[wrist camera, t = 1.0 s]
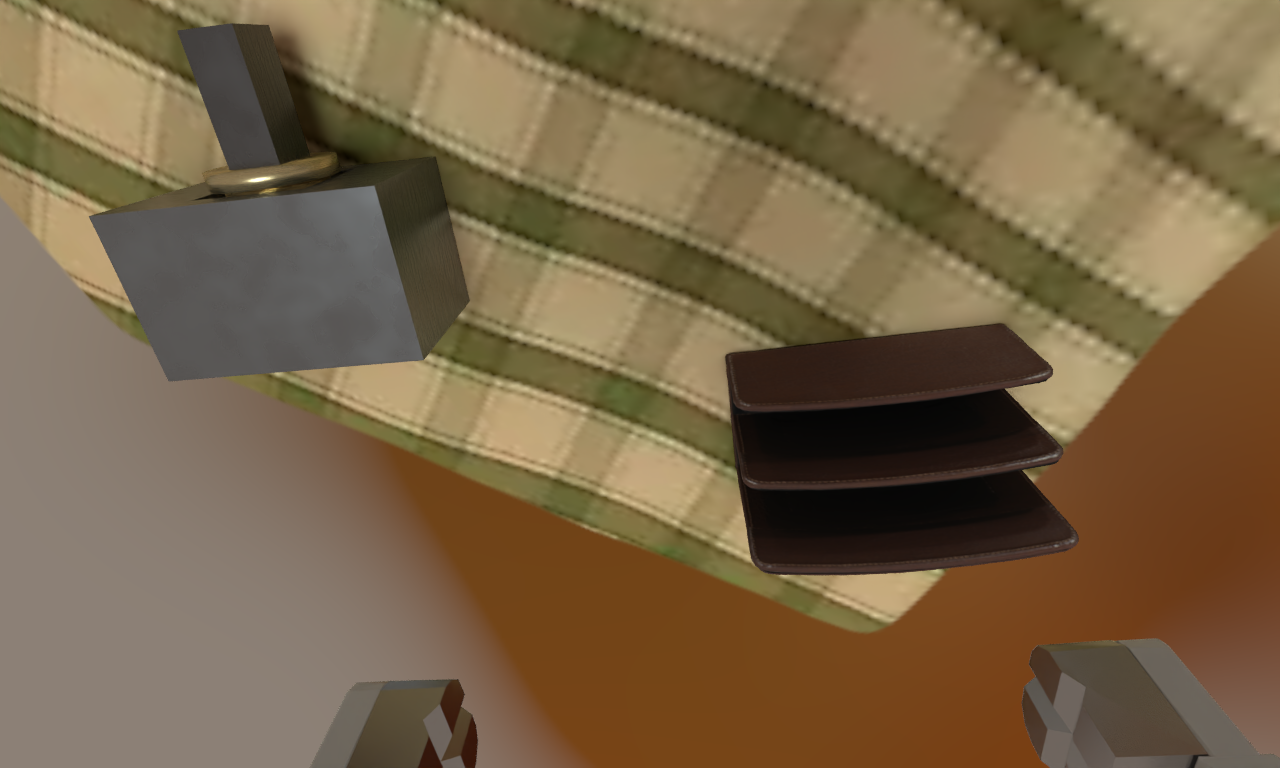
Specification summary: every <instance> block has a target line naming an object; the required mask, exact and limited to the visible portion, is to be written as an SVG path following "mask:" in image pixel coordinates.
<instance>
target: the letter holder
mask: <svg viewBox="0 0 1280 768" xmlns="http://www.w3.org/2000/svg"><path fill="white" fill-rule="evenodd" d="M725 360H726V365H727V378H728V387H729V397H730V409H731V422H732V432H733V443H734V453H735V467H736V469H737V475H738V482H739V488H740V494H741V500H742V505H743V511H744V517H745V522H746V528H747V536H748V543H749V549H750V554H751V559H752V561H753V562H754V564H755V566H757V567H758V568H759V569H760V570H761V571H763V572H765V573H768V574H776V575H861V574H862V575H866V574H887V573H904V572H915V571H925V570H936V569H945V568H954V567H962V566H973V565H981V564H988V563H996V562H1005V561H1012V560H1019V559H1025V558H1031V557H1037V556H1043V555H1047V554H1053V553H1059V552H1064V551H1067V550H1069V549H1071V548H1073V547H1074V546H1075V545H1076V544H1077V543H1078V540H1079V538H1078V534H1077V532H1076V531H1075V530H1074V528H1073V527H1072V526H1071V525H1070V524H1069V523H1068V521H1067V520H1066V519H1065V518H1064V517H1063V516H1062V515H1061V514H1060V513H1059V512H1058V511H1057V509H1056V508H1055V507H1054V506H1053V505H1052V504H1051V502H1050V501H1049V500H1048V499H1047V498H1046V497H1045V496H1044V495H1043V494H1042V493H1041V491H1040V490H1039V489H1038V488H1037V487H1036V486H1035V485H1034V484H1033V482H1032V481H1031V480H1030V479H1029V478H1028V476H1027V475H1026V474H1025V473H1024V472H1023V471H1022V470H1024V469H1029V468H1035V467H1040V466H1046V465H1052V464H1055V463H1057V462H1058V460H1059V459H1060V458H1061V457H1062V455H1063V448H1062V447H1061V446H1060V445H1059V444H1058V442H1057V441H1056V440H1055V439H1054V438H1053V437H1052V436H1051V435H1050V434H1049V433H1048V432H1047V431H1046V430H1045V429H1044V428H1043V427H1042V426H1041V425H1040V424H1039V423H1038V422H1037V421H1035V420H1034V419H1033V418H1032V417H1031V416H1030V415H1029V414H1028V413H1027V412H1026V411H1025V409H1024V408H1023V407H1022V406H1021V405H1020V404H1019V403H1018V402H1017V401H1016V400H1015V399H1014V398H1013V397H1012V396H1011V395H1010V394H1009V393H1008V392H1007V391H1006V390H1005V388H1012V387H1017V386H1023V385H1029V384H1034V383H1041V382H1044V381H1046V380H1047V379H1048V378H1050V377H1051V376H1052V375H1053V369H1052V367H1051V365H1049V363H1048V362H1046V361H1045V360H1044V359H1043V358H1042V357H1040V356H1039V355H1038V354H1037V353H1036V352H1035V351H1034V350H1033V349H1032V348H1030V347H1029V346H1028V345H1027V344H1026V343H1025V342H1024V341H1023V340H1022V339H1021V338H1020V337H1018V336H1017V335H1016V334H1015V333H1014V332H1013V331H1012V330H1010V329H1009V328H1008V327H1007V326H1005V325H1004V324H997V325H987V326H978V327H968V328H958V329H950V330H943V331H932V332H923V333H914V334H904V335H897V336H887V337H876V338H867V339H858V340H849V341H839V342H832V343H823V344H814V345H804V346H798V347H786V348H778V349H770V350H762V351H753V352H743V353H733V354H729V355H726V357H725Z"/></svg>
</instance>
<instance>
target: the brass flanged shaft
mask: <svg viewBox="0 0 1280 768" xmlns="http://www.w3.org/2000/svg"><path fill="white" fill-rule="evenodd" d="M178 34H179V37H180V39H181V42H182V45H183V47H184V50H185V53H186V55H187V58H188V61H189V63H190V66H191V69H192V71H193V74H194V77H195V79H196V82H197V85H198V87H199V90H200V93H201V95H202V98H203V101H204V103H205V106H206V109H207V111H208V114H209V116H210V119H211V122H212V124H213V127H214V130H215V132H216V135H217V138H218V140H219V143H220V146H221V148H222V151H223V154H224V156H225V159H226V162H227V164H228V166H224V167H220V168H216V169H212V170H209V171H206V172H204V173H202V175H203V177H204V180H205V182H206V185H207V187H208V190H209V192H210V193H213V194H225V196H226V197H231V196H240V195H250V194H259V193H268V192H278V191H287V190H296V189H304V188H307V187H310V186H312V185H315V184H317V183H320V182H322V181H325V180H327V179H330V178H331V176H330V175H333V174H336V173H338V172H340V171H341V167H340V164H339V161H338V158H337V154H336V152H313V153H309V150H308V147H307V144H306V141H305V138H304V134H303V131H302V128H301V125H300V122H299V119H298V116H297V112H296V109H295V106H294V103H293V100H292V97H291V94H290V91H289V87H288V84H287V81H286V78H285V75H284V72H283V69H282V66H281V62H280V59H279V56H278V53H277V50H276V47H275V44H274V41H273V37H272V34H271V31H270V28H269V25H252V24H224V25H217V26H209V27H201V28H194V29H186V30H179V31H178Z"/></svg>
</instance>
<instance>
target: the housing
mask: <svg viewBox="0 0 1280 768" xmlns="http://www.w3.org/2000/svg"><path fill="white" fill-rule="evenodd" d="M330 176H331V178H330V179H327V180H325V181H322V182H320V183H317V184H315V185H312V186H310V187H307V188H304V189H296V190H287V191H278V192H268V193H259V194H250V195H240V196H231V197H226V196H225V194H213V193H210V192H209V190H208V187H207V185H206V182H203V183H200V184H197V185H193V186H190V187H186V188H183V189H180V190H176V191H173V192H169V193H166V194H163V195H159V196H156V197H152V198H149V199H146V200H142V201H139V202H136V203H132V204H129V205H125V206H122V207H119V208H115V209H112V210H108V211H105V212H102V213H98V214H95V215H91V216H89V218H90V220H91V222H92V224H93V226H94V228H95V230H96V232H97V234H98V236H99V238H100V240H101V242H102V244H103V247H104V249H105V251H106V253H107V255H108V257H109V259H110V261H111V263H112V265H113V267H114V269H115V271H116V273H117V275H118V277H119V280H120V282H121V284H122V286H123V288H124V290H125V292H126V294H127V296H128V298H129V300H130V302H131V304H132V306H133V308H134V311H135V313H136V315H137V317H138V319H139V321H140V323H141V325H142V327H143V329H144V331H145V333H146V335H147V337H148V339H149V342H150V344H151V346H152V348H153V350H154V352H155V354H156V356H157V358H158V360H159V362H160V364H161V366H162V368H163V370H164V372H165V375H166V377H167V379H168V381H179V380H190V379H203V378H215V377H227V376H239V375H251V374H263V373H275V372H287V371H299V370H311V369H323V368H335V367H347V366H359V365H371V364H383V363H395V362H407V361H419V360H424V359H425V358H426V356H427V355H428V354H429V353H430V351H431V350H432V349H433V347H434V346H435V345H436V344H437V342H438V341H439V340H440V338H441V337H442V336H443V335H444V333H445V332H446V331H447V329H448V328H449V327H450V326H451V324H452V323H453V322H454V321H455V319H456V318H457V317H458V315H459V314H460V313H461V312H462V310H463V309H464V308H465V306H466V305H467V304H468V303H469V296H468V292H467V288H466V284H465V280H464V275H463V271H462V267H461V263H460V259H459V254H458V250H457V246H456V242H455V238H454V233H453V229H452V225H451V221H450V216H449V212H448V208H447V204H446V200H445V195H444V191H443V187H442V183H441V179H440V174H439V170H438V166H437V162H436V158H435V157H427V158H418V159H409V160H400V161H391V162H382V163H373V164H364V165H355V166H345V167H341V171H340V172H338V173H336V174H333V175H330Z"/></svg>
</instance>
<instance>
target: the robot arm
mask: <svg viewBox="0 0 1280 768" xmlns="http://www.w3.org/2000/svg"><path fill="white" fill-rule="evenodd" d="M1029 665H1030V667H1031V668H1032V671H1033V672H1034V674H1035V676H1036V677H1035V678H1034V679H1032V680H1031V681H1030V682H1029V683H1028V684H1027V685H1025V686H1024V692H1023V698H1022V708H1023V714H1024V721H1025V726H1026V728H1027V731H1028V734H1029V737H1030V739H1031V742H1032V744H1033V746H1034V748H1035V750H1036V752H1037V754H1038V756H1039V758H1040V760H1041V761H1042V762H1044V763H1045V764H1047V765H1048V766H1049V767H1050V768H1280V758H1279V757H1277V756H1276V755H1274V754H1259V753H1258V751H1257V750H1256V749H1255V748H1254V747H1253V746H1252V744H1251V743H1250V742H1249V741H1248V740H1247V738H1246V737H1245V736H1244V735H1243V734H1242V732H1241V731H1240V730H1239V729H1238V728H1237V726H1236V725H1235V724H1234V723H1233V722H1232V721H1231V719H1230V718H1229V717H1228V716H1227V715H1226V713H1225V712H1224V711H1223V710H1222V709H1221V707H1220V706H1219V705H1218V704H1217V703H1216V702H1215V700H1214V699H1213V698H1212V697H1211V696H1210V694H1209V693H1208V692H1207V691H1206V690H1205V689H1204V687H1203V686H1202V685H1201V684H1200V683H1199V681H1198V680H1197V679H1196V678H1195V677H1194V675H1193V674H1192V673H1191V672H1190V671H1189V670H1188V668H1187V667H1186V666H1185V665H1184V664H1183V662H1182V661H1181V660H1180V659H1179V658H1178V656H1177V655H1176V654H1175V653H1174V652H1173V651H1172V649H1171V648H1170V647H1169V646H1168V645H1167V644H1165V643H1164V642H1162V641H1161V640H1159V639H1139V640H1121V641H1111V640H1107V641H1093V642H1080V643H1079V642H1078V643H1064V644H1050V645H1038V646H1037V647H1036V648H1035V649H1034V650H1033V651H1032V653H1031V657H1030V661H1029ZM464 695H465V694H464V691H463V689H462V687H461V684H460V682H459V680H458V679H457V680H414V681H383V682H361V683H356V684H355V685H354V686H353V687H352V688H351V689H350V690H349V691H348V692H347V694H346V696H345V698H344V700H343V702H342V704H341V706H340V708H339V710H338V712H337V714H336V716H335V718H334V720H333V722H332V724H331V726H330V728H329V730H328V732H327V734H326V736H325V738H324V740H323V742H322V744H321V746H320V748H319V750H318V752H317V754H316V756H315V758H314V760H313V762H312V764H311V766H310V768H475V765H476V759H477V746H478V738H477V729H476V724H475V721H474V718H473V715H472V714H471V713H469V712H468V711H467V710H465V709H464V708H462V707H461V705H462V702H463V699H464Z"/></svg>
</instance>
